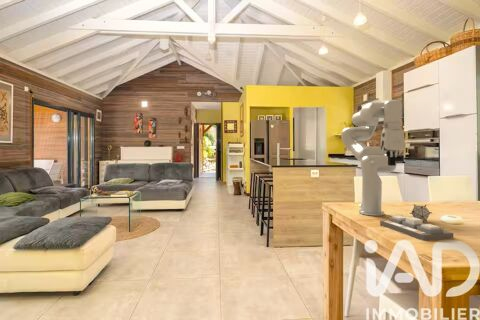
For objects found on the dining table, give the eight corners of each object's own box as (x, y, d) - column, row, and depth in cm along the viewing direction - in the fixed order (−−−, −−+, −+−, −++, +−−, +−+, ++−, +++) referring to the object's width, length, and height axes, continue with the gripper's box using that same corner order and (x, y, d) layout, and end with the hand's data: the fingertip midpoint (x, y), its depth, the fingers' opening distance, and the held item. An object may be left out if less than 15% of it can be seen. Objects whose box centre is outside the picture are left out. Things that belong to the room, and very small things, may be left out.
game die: (422, 228, 144) (433, 211, 145) (426, 225, 136) (438, 208, 137) (404, 217, 148) (414, 201, 148) (407, 214, 140) (418, 197, 141)
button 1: (392, 220, 134) (392, 215, 134) (400, 219, 135) (400, 215, 135) (399, 222, 130) (399, 218, 130) (407, 222, 131) (407, 217, 131)
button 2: (420, 229, 119) (420, 224, 119) (429, 228, 120) (429, 223, 120) (430, 232, 114) (430, 227, 114) (439, 231, 115) (439, 226, 115)
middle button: (405, 222, 126) (405, 217, 126) (414, 221, 127) (414, 217, 127) (413, 225, 122) (413, 220, 122) (422, 224, 123) (422, 219, 123)
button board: (380, 224, 135) (380, 217, 135) (405, 223, 138) (406, 215, 138) (423, 240, 112) (423, 231, 112) (453, 238, 115) (453, 229, 115)
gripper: (384, 125, 134) (383, 166, 135) (411, 126, 137) (411, 165, 138) (373, 127, 141) (372, 165, 142) (399, 127, 145) (399, 164, 145)
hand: (391, 165), depth 140 cm, fingers closed
